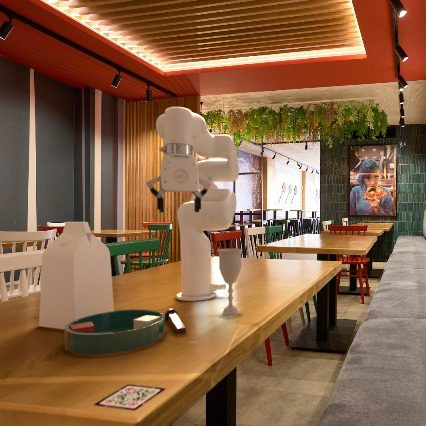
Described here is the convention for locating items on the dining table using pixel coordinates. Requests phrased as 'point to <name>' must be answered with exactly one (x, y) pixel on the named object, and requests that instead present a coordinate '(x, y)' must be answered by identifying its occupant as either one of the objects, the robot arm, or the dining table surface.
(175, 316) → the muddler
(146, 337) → the bowl
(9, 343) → the dining table surface
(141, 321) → the cream block
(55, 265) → the milk
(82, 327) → the red block
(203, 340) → the dining table surface
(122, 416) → the dining table surface
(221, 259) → the chalice
